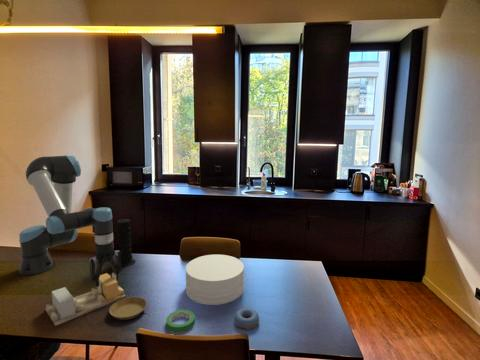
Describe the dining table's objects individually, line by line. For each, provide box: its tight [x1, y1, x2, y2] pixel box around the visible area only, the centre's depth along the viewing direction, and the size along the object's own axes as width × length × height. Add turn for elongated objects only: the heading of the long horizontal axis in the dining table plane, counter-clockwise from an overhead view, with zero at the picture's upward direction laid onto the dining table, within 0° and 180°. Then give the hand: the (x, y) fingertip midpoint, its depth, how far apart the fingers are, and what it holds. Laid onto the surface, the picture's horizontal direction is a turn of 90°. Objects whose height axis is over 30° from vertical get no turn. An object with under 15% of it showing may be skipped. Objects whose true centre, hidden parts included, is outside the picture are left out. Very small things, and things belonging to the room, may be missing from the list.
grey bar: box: [51, 286, 75, 319], centre depth 118 cm, size 12×5×7 cm, turn 46°
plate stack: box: [185, 254, 245, 306], centre depth 137 cm, size 28×28×12 cm
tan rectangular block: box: [96, 272, 119, 301], centre depth 131 cm, size 12×5×7 cm, turn 47°
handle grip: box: [116, 218, 136, 268], centre depth 163 cm, size 10×26×10 cm
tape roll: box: [165, 309, 196, 334], centre depth 112 cm, size 11×11×3 cm
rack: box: [45, 285, 127, 327], centre depth 125 cm, size 15×28×3 cm, turn 136°
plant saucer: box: [108, 296, 148, 321], centre depth 119 cm, size 15×15×3 cm
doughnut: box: [233, 307, 260, 330], centre depth 113 cm, size 10×10×5 cm
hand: (107, 289), depth 131 cm, fingers open, 6 cm apart
